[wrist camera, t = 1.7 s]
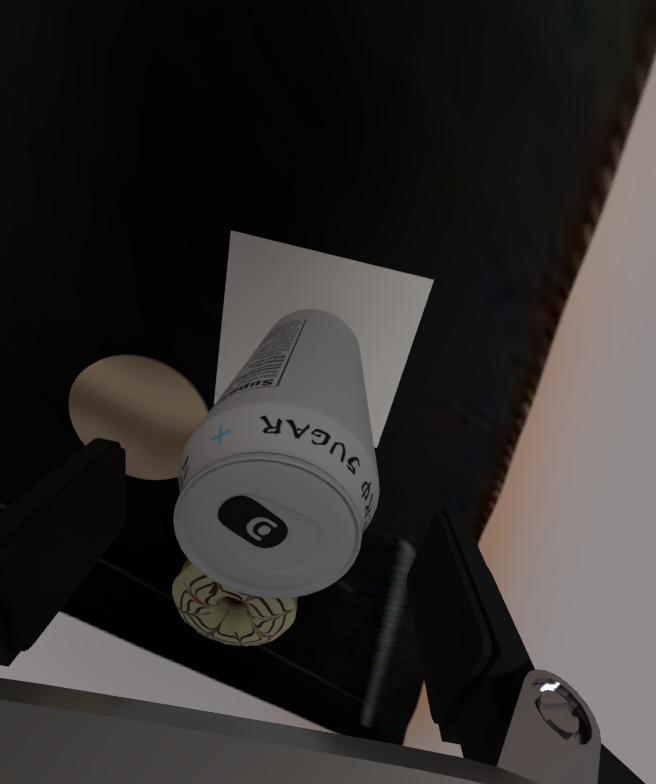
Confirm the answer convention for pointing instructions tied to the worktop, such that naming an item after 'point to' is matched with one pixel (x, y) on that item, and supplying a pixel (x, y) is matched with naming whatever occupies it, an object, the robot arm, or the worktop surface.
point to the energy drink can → (282, 465)
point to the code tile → (323, 292)
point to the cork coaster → (138, 411)
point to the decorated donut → (229, 610)
